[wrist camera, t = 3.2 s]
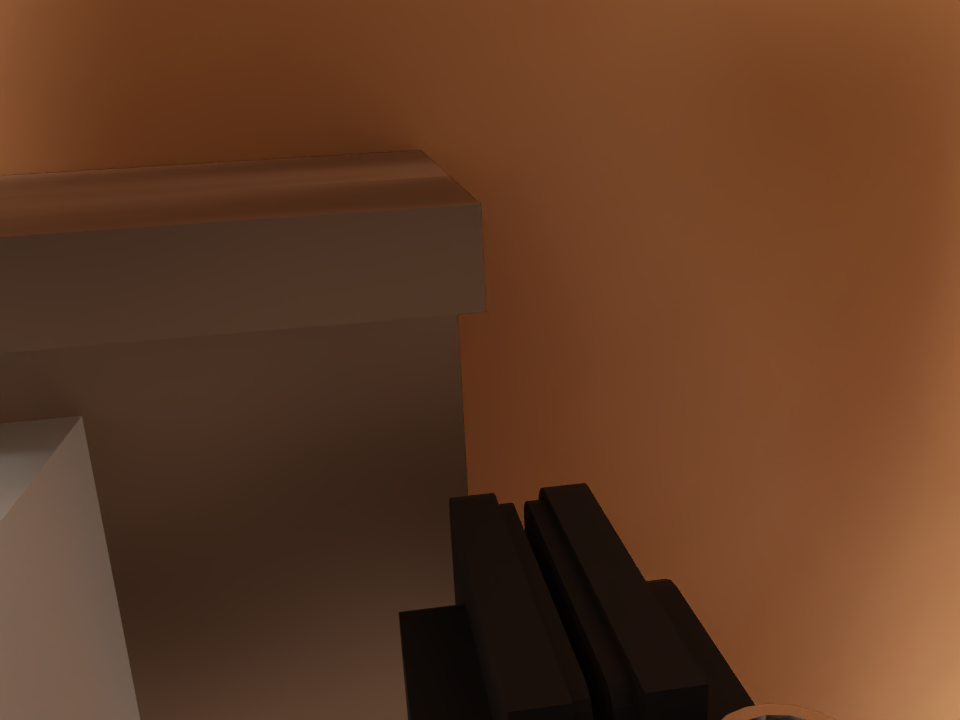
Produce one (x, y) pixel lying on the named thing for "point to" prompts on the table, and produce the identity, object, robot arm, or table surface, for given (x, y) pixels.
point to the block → (57, 582)
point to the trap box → (254, 410)
